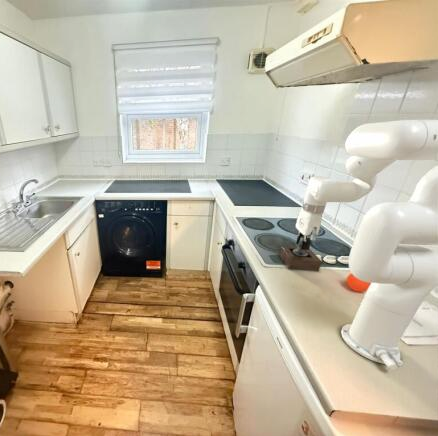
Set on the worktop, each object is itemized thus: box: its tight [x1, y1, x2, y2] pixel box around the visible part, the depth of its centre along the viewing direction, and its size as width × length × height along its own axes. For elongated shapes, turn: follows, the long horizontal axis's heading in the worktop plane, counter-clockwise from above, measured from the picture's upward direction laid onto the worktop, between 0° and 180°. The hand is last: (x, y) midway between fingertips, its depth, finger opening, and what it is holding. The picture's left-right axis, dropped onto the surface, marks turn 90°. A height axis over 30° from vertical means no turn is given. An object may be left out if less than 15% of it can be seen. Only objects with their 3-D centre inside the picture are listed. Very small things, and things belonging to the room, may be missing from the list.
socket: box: [278, 245, 323, 272], centre depth 106 cm, size 12×12×5 cm
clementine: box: [345, 273, 371, 292], centre depth 89 cm, size 8×7×7 cm
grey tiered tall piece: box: [293, 237, 308, 257], centre depth 103 cm, size 6×6×12 cm
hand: (302, 246), depth 103 cm, fingers closed on grey tiered tall piece, 3 cm apart
